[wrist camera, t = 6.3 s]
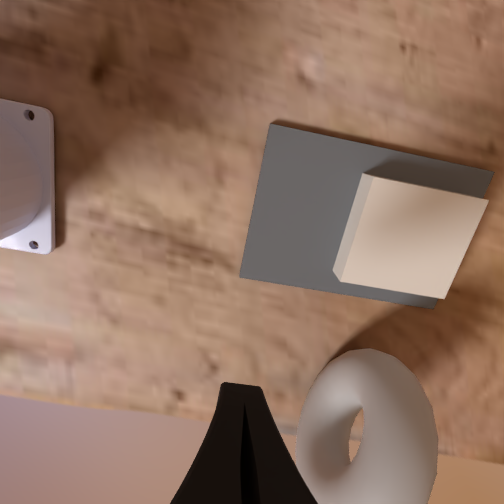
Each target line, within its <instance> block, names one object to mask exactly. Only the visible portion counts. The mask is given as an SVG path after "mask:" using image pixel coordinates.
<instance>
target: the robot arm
mask: <svg viewBox="0 0 504 504" xmlns="http://www.w3.org/2000/svg"><path fill="white" fill-rule="evenodd" d="M29 111H32V112H33V113H34V116H35V117H34V120H31V119H30V118H29V115H28V114H29ZM33 241H36V242H37V243H38V245H39V247H36V246H35V245H34V243H33ZM0 247H1V248H8V249H14V250H20V251H26V252H32V253H39V254H49V253H51V252H52V251H53V250H54V249H55V184H54V119H53V115H52V113H51V112H50V111H49V110H48V109H46V108H44V107H40V106H35V105H30V104H25V103H20V102H16V101H11V100H6V99H1V98H0ZM170 504H318V503H317V501H316V500H315V498H314V496H313V495H312V493H311V492H310V490H309V488H308V486H307V485H306V483H305V481H304V480H303V478H302V476H301V474H300V472H299V471H298V469H297V467H296V465H295V463H294V461H293V460H292V458H291V456H290V454H289V452H288V450H287V448H286V446H285V444H284V442H283V439H282V437H281V435H280V433H279V431H278V429H277V426H276V424H275V422H274V419H273V417H272V415H271V412H270V410H269V407H268V405H267V402H266V399H265V397H264V394H263V391H262V389H261V387H259V386H252V385H244V384H236V383H228V382H224V383H222V384H221V387H220V392H219V396H218V401H217V406H216V410H215V413H214V416H213V419H212V421H211V424H210V426H209V429H208V431H207V434H206V436H205V438H204V441H203V443H202V445H201V447H200V449H199V451H198V453H197V455H196V457H195V459H194V461H193V464H192V465H191V467H190V469H189V471H188V473H187V475H186V477H185V479H184V480H183V482H182V484H181V486H180V488H179V489H178V491H177V493H176V494H175V496H174V498H173V499H172V501H171V503H170Z"/></svg>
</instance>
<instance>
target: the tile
mask: <svg viewBox="0 0 504 504" xmlns="http://www.w3.org/2000/svg"><path fill="white" fill-rule="evenodd" d="M488 202H489V200H486V199H482V198H478V197H474V196H471V195H466V194H461V193H457V192H452V191H447V190H442V189H437V188H432V187H427V186H423V185H418V184H413V183H408V182H403V181H398V180H393V179H389V178H384V177H379V176H374V175H369V174H364V173H362V176H361V180H360V183H359V186H358V189H357V193H356V196H355V199H354V202H353V206H352V209H351V212H350V215H349V218H348V222H347V225H346V228H345V231H344V235H343V238H342V241H341V244H340V248H339V251H338V254H337V257H336V261H335V264H334V267H333V272H334V273H335V275H336V276H337V278H338V279H339V281H340V282H346V283H352V284H358V285H363V286H369V287H375V288H381V289H387V290H393V291H399V292H405V293H411V294H417V295H423V296H429V297H435V298H441V299H445V297H446V295H447V292H448V290H449V288H450V286H451V283H452V281H453V279H454V277H455V275H456V272H457V270H458V268H459V266H460V264H461V261H462V259H463V257H464V255H465V253H466V250H467V248H468V246H469V244H470V242H471V239H472V237H473V235H474V233H475V231H476V228H477V226H478V224H479V222H480V219H481V217H482V215H483V213H484V211H485V208H486V206H487V204H488Z"/></svg>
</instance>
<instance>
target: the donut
mask: <svg viewBox="0 0 504 504" xmlns="http://www.w3.org/2000/svg"><path fill="white" fill-rule="evenodd" d="M362 408H363V411H364V428H363V435H362V440H361V443H360V446H359V449H358V452H357V454H356V456H355V457H354V459H353V460H352V462H350V458H349V437H350V431H351V428H352V425H353V422H354V420H355V418H356V416H357V414H358V413H359V411H360V410H361V409H362ZM295 452H296V467H297V469H298V471H299V472H300V474H301V476H302V478H303V480H304V481H305V483H306V485H307V486H308V488H309V490H310V492H311V493H312V495H313V496H314V498H315V500H316V501H317V503H318V504H428V500H429V497H430V494H431V491H432V487H433V484H434V481H435V478H436V475H437V456H438V434H437V429H436V424H435V419H434V414H433V409H432V406H431V404H430V402H429V400H428V398H427V396H426V394H425V392H424V390H423V388H422V386H421V384H420V382H419V380H418V379H417V377H416V376H415V375H414V374H413V373H412V372H411V371H410V370H409V369H408V368H407V367H406V366H405V365H404V364H403V363H402V362H401V361H400V360H398V359H397V358H396V357H394V356H392V355H389V354H387V353H384V352H381V351H378V350H375V349H371V348H367V349H358V350H350V351H347V352H345V353H344V354H342V355H340V356H339V357H337V358H335V359H334V360H332V361H330V363H329V364H328V365H327V366H326V367H325V368H324V369H323V370H322V371H321V372H320V373H319V375H318V376H317V378H316V380H315V381H314V383H313V385H312V386H311V388H310V390H309V392H308V395H307V397H306V400H305V402H304V405H303V407H302V411H301V416H300V420H299V424H298V428H297V439H296V450H295Z"/></svg>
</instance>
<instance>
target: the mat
mask: <svg viewBox="0 0 504 504" xmlns="http://www.w3.org/2000/svg"><path fill="white" fill-rule="evenodd" d="M362 173H364V174H369V175H374V176H379V177H384V178H389V179H393V180H398V181H403V182H408V183H413V184H418V185H423V186H427V187H432V188H437V189H442V190H447V191H452V192H457V193H461V194H466V195H471V196H474V197H478V198H482V199H483V197H484V195H485V193H486V190H487V188H488V186H489V184H490V181H491V179H492V177H493V175H494V172H492V171H488V170H483V169H478V168H474V167H469V166H465V165H460V164H455V163H451V162H446V161H441V160H437V159H432V158H428V157H423V156H418V155H414V154H409V153H404V152H400V151H395V150H391V149H386V148H381V147H377V146H372V145H367V144H363V143H358V142H354V141H349V140H344V139H340V138H335V137H330V136H326V135H321V134H317V133H312V132H307V131H303V130H298V129H293V128H289V127H284V126H279V125H275V124H270V126H269V131H268V136H267V141H266V146H265V151H264V156H263V161H262V166H261V171H260V176H259V180H258V185H257V190H256V195H255V200H254V205H253V210H252V215H251V220H250V225H249V230H248V235H247V240H246V245H245V250H244V255H243V260H242V265H241V270H240V278H246V279H252V280H258V281H264V282H270V283H276V284H282V285H289V286H295V287H301V288H307V289H313V290H319V291H325V292H331V293H337V294H343V295H349V296H356V297H362V298H368V299H374V300H380V301H386V302H392V303H398V304H404V305H410V306H416V307H423V308H429V309H434V307H435V305H436V303H437V300H438V298H435V297H429V296H423V295H417V294H411V293H405V292H399V291H393V290H387V289H381V288H375V287H369V286H363V285H358V284H352V283H346V282H340V281H339V279H338V278H337V276H336V275H335V273H334V272H333V267H334V264H335V261H336V257H337V254H338V251H339V248H340V244H341V241H342V238H343V235H344V231H345V228H346V225H347V222H348V218H349V215H350V212H351V209H352V206H353V202H354V199H355V196H356V193H357V189H358V186H359V183H360V180H361V176H362Z"/></svg>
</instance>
